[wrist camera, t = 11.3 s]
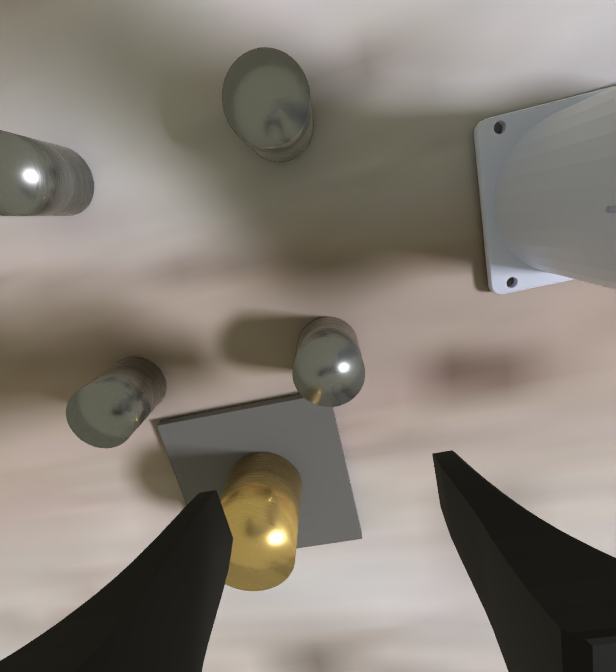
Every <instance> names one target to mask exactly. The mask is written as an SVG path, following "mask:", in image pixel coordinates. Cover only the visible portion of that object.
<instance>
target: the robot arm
mask: <svg viewBox="0 0 616 672" xmlns="http://www.w3.org/2000/svg"><path fill="white" fill-rule="evenodd" d="M496 123H500V124H501V125H502V132H501V133H500V134H497V133H496V132H495V131H494V125H495V124H496ZM474 141H475V151H476V162H477V172H478V183H479V193H480V204H481V214H482V225H483V235H484V246H485V256H486V267H487V277H488V286H489V289H490V290H491V291H492V292H493V293H496V294H506V293H511V292H516V291H521V290H526V289H531V288H535V287H540V286H545V285H550V284H555V283H560V282H565V281H570V280H574V279H576V280H580V281H584V282H588V283H592V284H596V285H600V286H604V287H608V288H612V289H616V86H612V87H608V88H604V89H600V90H596V91H592V92H588V93H584V94H580V95H576V96H573V97H569V98H565V99H561V100H557V101H553V102H549V103H545V104H541V105H537V106H533V107H529V108H525V109H521V110H517V111H513V112H509V113H505V114H501V115H497V116H493V117H489V118H486V119H484V120H482V121H480V122H479V123H478V124H477V125H476V127H475V130H474ZM511 277H513V279H514V283H513V284H512V285H511V286H507V284H506V283H507V280H508V279H509V278H511ZM433 461H434V467H435V474H436V480H437V486H438V493H439V499H440V506H441V509H442V512H443V515H444V518H445V521H446V524H447V527H448V530H449V533H450V536H451V538H452V540H453V543H454V545H455V547H456V549H457V551H458V553H459V556H460V558H461V560H462V562H463V564H464V566H465V569H466V571H467V573H468V575H469V577H470V579H471V581H472V583H473V586H474V588H475V590H476V592H477V594H478V596H479V598H480V601H481V603H482V605H483V607H484V609H485V611H486V614H487V616H488V618H489V621H490V623H491V626H492V628H493V631H494V633H495V636H496V639H497V641H498V644H499V647H500V650H501V652H502V655H503V658H504V660H505V663H506V666H507V669H508V671H509V672H616V558H615V557H612V556H610V555H608V554H606V553H604V552H602V551H599V550H597V549H595V548H593V547H591V546H589V545H587V544H585V543H583V542H581V541H579V540H577V539H575V538H573V537H571V536H570V535H568V534H566V533H564V532H562V531H560V530H559V529H557V528H555V527H553V526H552V525H550V524H548V523H547V522H545V521H543V520H542V519H540V518H538V517H537V516H535V515H534V514H532V513H531V512H529V511H528V510H526V509H525V508H523V507H522V506H520V505H519V504H518V503H516V502H515V501H513V500H512V499H510V498H509V497H508V496H506V495H505V494H504V493H502V492H501V491H500V490H499V489H497V488H496V487H495V486H493V485H492V484H491V483H490V482H488V481H487V480H486V479H485V478H483V477H482V476H481V475H480V474H479V473H477V472H476V471H475V470H474V469H473V468H472V467H471V466H469V465H468V464H467V463H466V462H465V461H464V460H463V459H462V458H461V457H459V456H458V455H457V454H456V453H455V452H453V451H446V452H440V453H434V454H433ZM232 544H233V536H232V533H231V530H230V527H229V524H228V522H227V519H226V516H225V513H224V510H223V507H222V504H221V501H220V499H219V496H218V493H217V490H213V491H207V492H201V493H199V494H198V495H196V496H195V497H194V498H193V499H192V500H191V501H190V503H189V504H188V505H187V506H186V507H185V508H184V509H183V510H182V511H181V512H180V513H179V514H178V515H177V516H176V518H175V519H174V520H173V521H172V522H171V523H170V524H169V525H168V526H167V527H166V528H165V529H164V530H163V531H162V533H161V534H160V535H159V536H158V537H157V538H156V539H155V540H154V541H153V542H152V543H151V544H150V545H149V546H148V547H147V548H146V549H145V550H144V551H143V552H142V553H141V554H140V555H139V556H138V557H137V558H136V559H135V560H134V561H133V562H132V563H131V564H130V565H129V566H127V567H126V568H125V569H124V570H123V571H122V572H121V573H120V574H119V575H118V576H117V577H115V578H114V579H113V580H112V581H111V582H110V583H108V584H107V585H106V586H105V587H104V588H103V589H101V590H100V591H99V592H98V593H97V594H95V595H94V596H93V597H92V598H90V599H89V600H88V601H86V602H85V603H84V604H82V605H81V606H80V607H79V608H77V609H76V610H75V611H73V612H72V613H71V614H69V615H68V616H67V617H66V618H64V619H63V620H62V621H60V622H59V623H57V624H56V625H55V626H53V627H52V628H50V629H49V630H47V631H46V632H44V633H43V634H42V635H40V636H39V637H37V638H36V639H34V640H33V641H31V642H30V643H28V644H27V645H25V646H24V647H22V648H20V649H19V650H17V651H16V652H14V653H13V654H11V655H9V656H8V657H6V658H4V659H3V660H1V661H0V672H202V667H203V662H204V658H205V654H206V650H207V645H208V642H209V638H210V635H211V631H212V628H213V624H214V621H215V617H216V614H217V610H218V606H219V603H220V599H221V596H222V592H223V589H224V585H225V581H226V578H227V574H228V570H229V564H230V558H231V551H232Z"/></svg>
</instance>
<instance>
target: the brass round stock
mask: <svg viewBox="0 0 616 672" xmlns="http://www.w3.org/2000/svg"><path fill="white" fill-rule="evenodd" d="M301 495H302V480H301V476H300V474H299V472H298V470H297V469H296V468H295V466H294V465H293V464H292V463H291V462H289V461H288V460H286V459H285V458H283V457H281V456H279V455H275V454H272V453H264V452H263V453H253V454H250V455H247V456H245V457H243V458H241V459H240V460H238V461H237V462H236V463H235V464H234V466H233V467H232V469H231V471H230V473H229V476H228V479H227V481H226V484H225V486H224V489H223V492H222V494H221V497H220V501H221V504H222V507H223V510H224V513H225V516H226V519H227V522H228V524H229V527H230V530H231V533H232V536H233V544H232V551H231V558H230V564H229V570H228V574H227V578H226V581H225V584H226V585H228V586H231V587H233V588H236V589H240V590H246V591H261V590H266V589H270V588H273V587H275V586H277V585H279V584H281V583H282V582H283V581H285V580H286V579H287V578H288V576H289V575H290V574H291V572H292V570H293V568H294V564H295V555H296V545H297V535H298V525H299V515H300V505H301Z"/></svg>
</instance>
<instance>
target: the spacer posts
mask: <svg viewBox="0 0 616 672" xmlns="http://www.w3.org/2000/svg"><path fill="white" fill-rule="evenodd" d="M222 102H223V108H224V112H225V115H226V118H227V120H228V123H229V124H230V126H231V128H232V129H233V130H234V131H235V133H236V134H237V135H238V136H239V137H240V138H241V139H242V140H244V141H245V142H246V143H247V144H248V145H249V146H250V147H251V148H252V149H253V150H254V151H255V152H257V153H258V154H259V155H260V156H262V157H263V158H265V159H268V160H270V161H275V162H283V161H288V160H291V159H293V158H295V157H296V156H298V155H299V154H300V153H301V152H302V151H303V150H304V149H305V148H306V146H307V145H308V143H309V141H310V138H311V135H312V131H313V116H312V107H311V99H310V92H309V86H308V82H307V79H306V77H305V74H304V72H303V71H302V69H301V67H300V66H299V65H298V63H297V62H296V61H295V60H294V59H293V58H292V57H290V56H289V55H288V54H286V53H284V52H282V51H280V50H277V49H274V48H257V49H253V50H250V51H248V52H246V53H245V54H243V55H242V56H240V57H239V58H238V59H237V60H236V61H235V62H234V63H233V65H232V66H231V67H230V69H229V71H228V73H227V75H226V78H225V81H224V85H223V91H222ZM93 193H94V182H93V177H92V174H91V171H90V169H89V167H88V165H87V164H86V162H85V161H84V160H83V159H82V158H81V157H80V156H79V155H78V154H77V153H75V152H74V151H72V150H71V149H68V148H66V147H62V146H59V145H55V144H51V143H47V142H43V141H40V140H36V139H32V138H28V137H25V136H21V135H17V134H13V133H9V132H6V131H2V130H0V215H2V216H71V215H75V214H78V213H80V212H82V211H83V210H85V209H86V208H87V206H88V205H89V204H90V202H91V200H92V197H93ZM292 373H293V381H294V384H295V387H296V389H297V390H298V392H299V393H300V394H301V395H302V396H303V397H304V398H305V399H306V400H308V401H309V402H311V403H313V404H315V405H318V406H323V407H334V406H339V405H342V404H345V403H347V402H349V401H350V400H352V399H353V398H354V397H355V396H356V395H357V394H358V393H359V391H360V390H361V388H362V386H363V383H364V379H365V368H364V364H363V360H362V356H361V352H360V348H359V344H358V341H357V337H356V334H355V332H354V330H353V329H352V328H351V326H350V325H349V324H347V323H346V322H345V321H343V320H341V319H338V318H335V317H321V318H318V319H315V320H313V321H312V322H310V323H309V324H308V325H307V326H306V327H305V328H304V329H303V331H302V332H301V335H300V337H299V341H298V346H297V351H296V356H295V360H294V365H293V372H292ZM165 393H166V381H165V378H164V375H163V374H162V372H161V371H160V369H159V368H158V367H157V366H156V365H155V364H153V363H152V362H150V361H148V360H146V359H143V358H138V357H131V358H126V359H124V360H122V361H120V362H118V363H117V364H116V365H114V366H113V367H111V368H110V369H109V370H107V371H106V372H104V373H103V374H102V375H100V376H99V377H97V378H96V379H95V380H93V381H92V382H90V383H89V384H88V385H86V386H85V387H83V388H82V389H80V390H79V391H78V392H76V393H75V394H74V395H73V396H72V397H71V398H70V400H69V401H68V404H67V408H66V417H67V421H68V424H69V426H70V428H71V429H72V431H73V432H74V433H75V435H76V436H77V437H78V438H80V439H81V440H82V441H84V442H85V443H87V444H89V445H92V446H95V447H99V448H113V447H116V446H119V445H121V444H122V443H124V442H125V441H126V440H127V439H128V438H129V437H130V436H131V435H132V433H133V432H134V431H135V430H136V429H137V428H138V427H139V426H140V424H141V423H142V422H143V421H144V420H145V419H146V418H147V417H148V415H149V414H150V413H151V412H152V411H153V410H154V409H155V407H156V406H157V405H158V404H159V403H160V402H161V401H162V399H163V398H164V396H165Z"/></svg>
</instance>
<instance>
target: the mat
mask: <svg viewBox="0 0 616 672" xmlns="http://www.w3.org/2000/svg"><path fill="white" fill-rule="evenodd" d="M157 428H158V430H159V433H160V435H161V438H162V441H163V443H164V446H165V449H166V451H167V454H168V457H169V459H170V462H171V465H172V467H173V470H174V472H175V475H176V478H177V480H178V483H179V486H180V488H181V491H182V494H183V496H184V499H185V501H186V504H187V505H188V504H189V503H190V501H191V500H192V499H193V498H194V497H195V496H196V495H198V494H199V493H201V492H207V491H213V490H217V493H218V496H219V499H220V497H221V494H222V492H223V489H224V486H225V484H226V481H227V479H228V476H229V473H230V471H231V469H232V467H233V466H234V464H235V463H236V462H237V461H238V460H240V459H241V458H243V457H245V456H247V455H250V454H253V453H263V452H264V453H272V454H275V455H279V456H281V457H283V458H285V459H286V460H288V461H289V462H291V463H292V464H293V465H294V466H295V468H296V469H297V470H298V472H299V474H300V476H301V480H302V495H301V505H300V515H299V525H298V535H297V545H296V548H302V547H309V546H316V545H322V544H329V543H336V542H343V541H349V540H356V539H362V533H361V528H360V523H359V519H358V515H357V510H356V506H355V502H354V497H353V493H352V489H351V484H350V480H349V476H348V471H347V467H346V463H345V458H344V454H343V450H342V445H341V441H340V437H339V432H338V428H337V424H336V419H335V415H334V411H333V407H323V406H318V405H315V404H313V403H311V402H309V401H308V400H306V399H305V398H304V397H303V396H302V395H301V394H298V395H293V396H288V397H282V398H277V399H272V400H267V401H261V402H256V403H251V404H246V405H240V406H235V407H230V408H224V409H219V410H214V411H209V412H203V413H198V414H193V415H188V416H182V417H177V418H172V419H166V420H161V421H160V422H159V424H158V425H157Z"/></svg>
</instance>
